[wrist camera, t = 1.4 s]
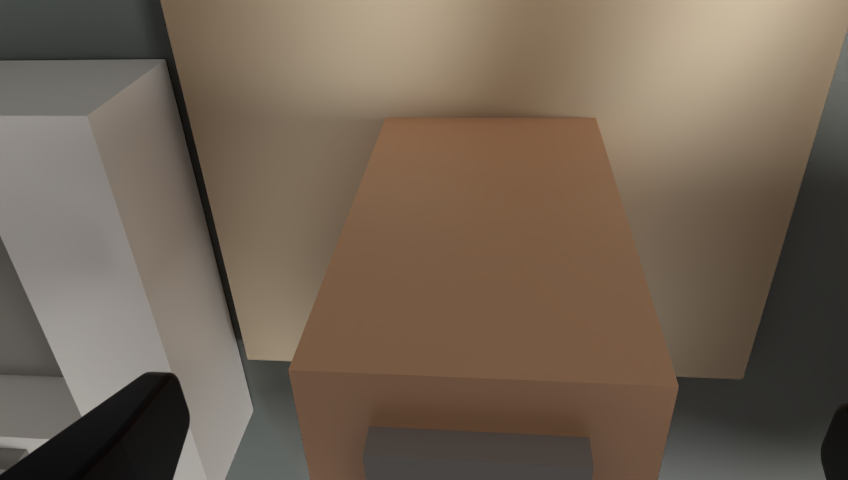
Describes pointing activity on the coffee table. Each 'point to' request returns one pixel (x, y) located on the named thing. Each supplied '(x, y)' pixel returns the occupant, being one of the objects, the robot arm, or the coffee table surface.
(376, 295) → the plug
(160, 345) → the socket block
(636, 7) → the tray slab
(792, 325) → the coffee table surface
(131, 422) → the robot arm
